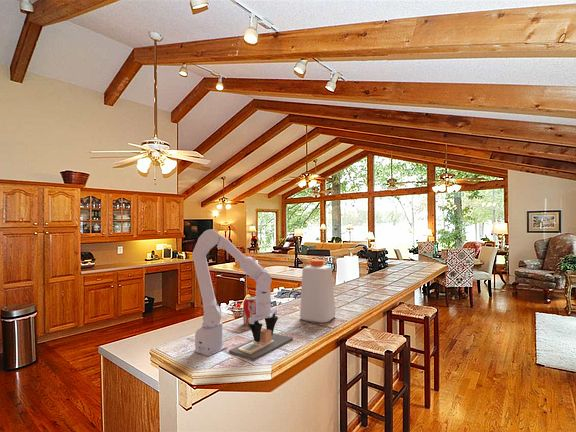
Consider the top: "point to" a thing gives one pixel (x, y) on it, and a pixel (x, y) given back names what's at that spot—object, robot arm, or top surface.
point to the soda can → (249, 309)
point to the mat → (277, 343)
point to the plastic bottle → (317, 293)
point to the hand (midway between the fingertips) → (263, 338)
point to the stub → (265, 337)
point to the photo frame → (251, 347)
